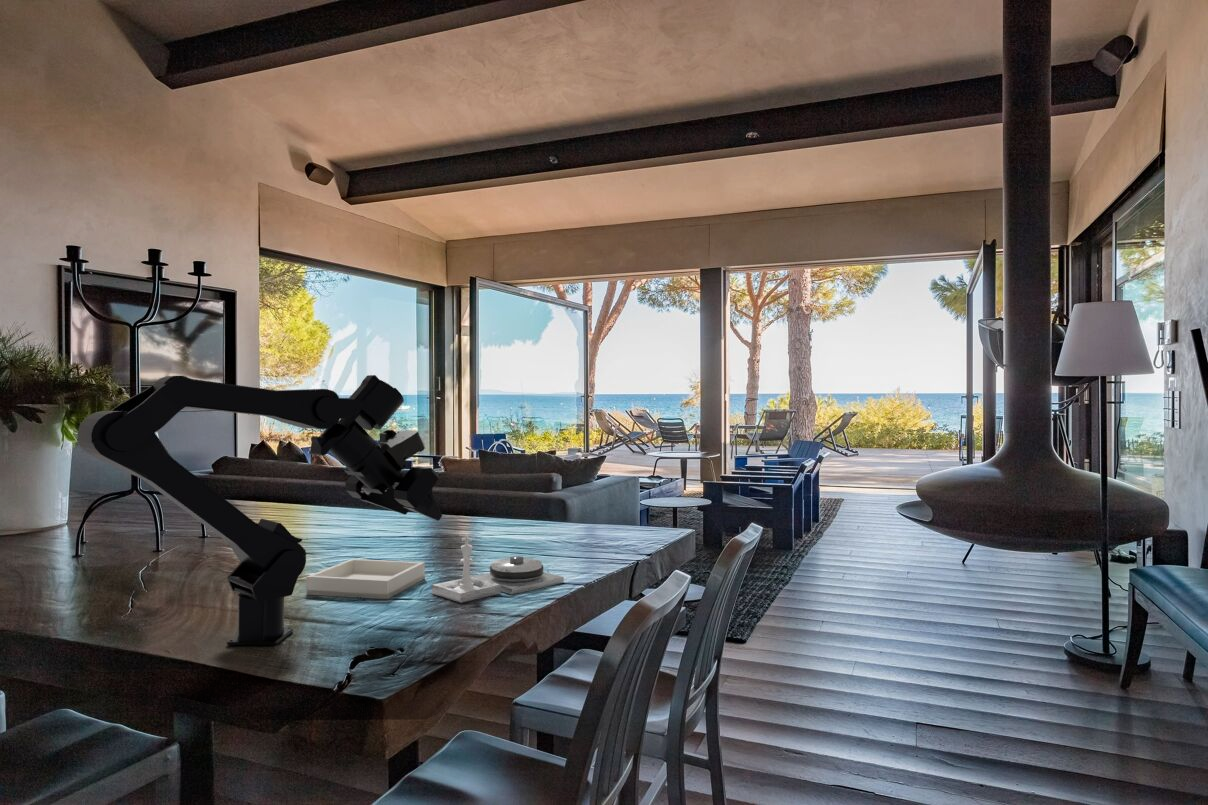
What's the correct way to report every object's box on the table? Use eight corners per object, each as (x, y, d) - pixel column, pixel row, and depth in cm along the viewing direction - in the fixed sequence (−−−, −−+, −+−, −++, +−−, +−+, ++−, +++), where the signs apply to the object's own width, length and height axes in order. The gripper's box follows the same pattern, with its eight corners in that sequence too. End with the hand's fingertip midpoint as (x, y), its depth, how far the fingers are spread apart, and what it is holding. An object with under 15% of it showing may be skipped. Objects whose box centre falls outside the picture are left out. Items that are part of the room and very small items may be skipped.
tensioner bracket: (467, 605, 118) (467, 576, 118) (425, 591, 126) (425, 565, 126) (563, 582, 133) (563, 557, 133) (520, 571, 142) (520, 548, 142)
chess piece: (474, 598, 122) (475, 537, 122) (446, 596, 123) (447, 536, 123) (485, 590, 127) (485, 532, 127) (458, 589, 128) (458, 531, 128)
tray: (387, 599, 121) (387, 581, 121) (306, 594, 124) (306, 576, 124) (424, 578, 135) (424, 562, 136) (351, 574, 138) (351, 558, 138)
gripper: (426, 414, 109) (486, 480, 118) (360, 412, 122) (419, 473, 130) (380, 472, 104) (446, 537, 112) (316, 464, 116) (380, 524, 124)
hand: (423, 515), depth 120 cm, fingers open, 9 cm apart
